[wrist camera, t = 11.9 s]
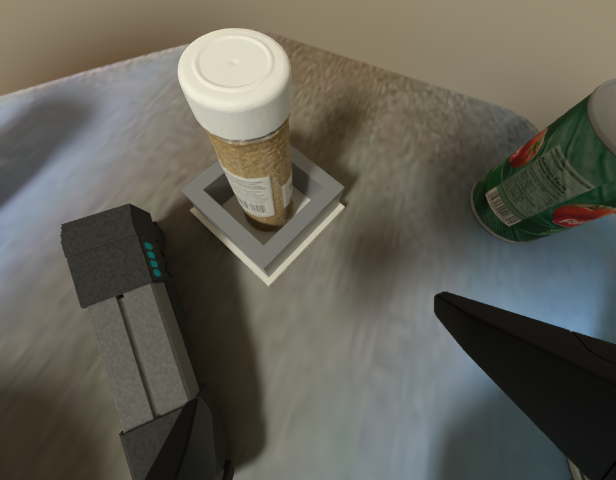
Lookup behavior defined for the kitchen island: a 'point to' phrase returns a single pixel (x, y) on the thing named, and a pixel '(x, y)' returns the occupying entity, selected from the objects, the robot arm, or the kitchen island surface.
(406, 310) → the kitchen island surface
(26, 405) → the kitchen island surface
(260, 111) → the sprinkles bottle
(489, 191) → the canned tomato
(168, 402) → the gun
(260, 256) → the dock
